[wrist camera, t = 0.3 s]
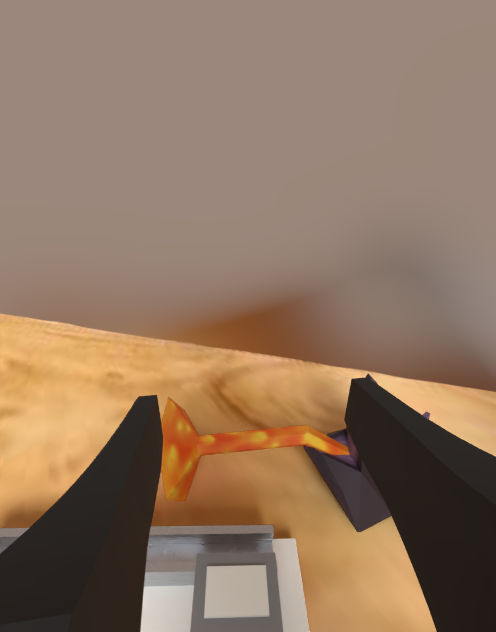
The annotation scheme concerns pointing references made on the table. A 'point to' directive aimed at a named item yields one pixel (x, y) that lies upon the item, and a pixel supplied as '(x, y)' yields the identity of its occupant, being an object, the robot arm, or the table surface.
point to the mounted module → (236, 593)
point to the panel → (176, 601)
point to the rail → (184, 548)
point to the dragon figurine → (325, 450)
